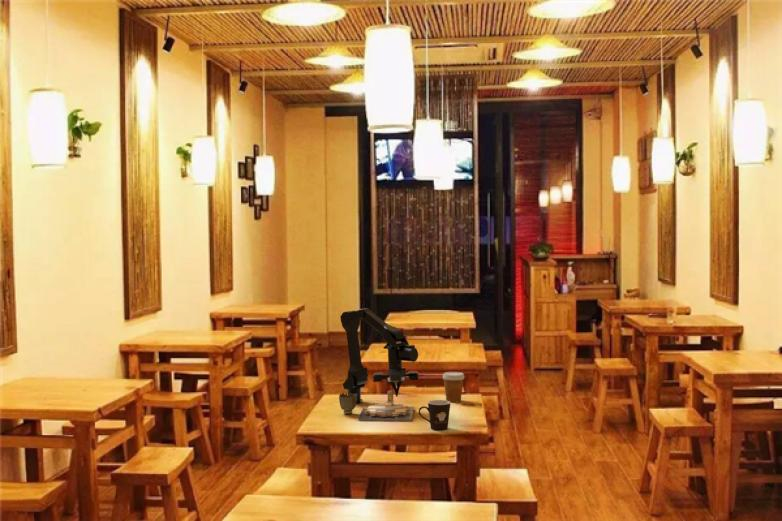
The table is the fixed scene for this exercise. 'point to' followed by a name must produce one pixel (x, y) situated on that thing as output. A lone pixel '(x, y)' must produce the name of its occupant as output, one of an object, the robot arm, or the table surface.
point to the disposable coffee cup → (453, 386)
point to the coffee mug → (438, 414)
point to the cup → (348, 402)
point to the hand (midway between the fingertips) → (396, 396)
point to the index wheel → (387, 408)
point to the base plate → (369, 417)
